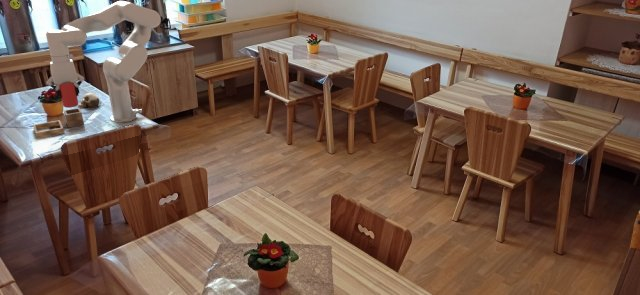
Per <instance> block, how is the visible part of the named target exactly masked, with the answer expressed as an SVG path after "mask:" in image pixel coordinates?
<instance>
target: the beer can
mask: <svg viewBox="0 0 640 295" xmlns="http://www.w3.org/2000/svg"><path fill="white" fill-rule="evenodd" d="M59 90H60V93H61V97H62V98H61V103H62V107H64V108H66V109H67V108H68V109H69V108H70V109H72V108H75V107H78V106H79V100H78V96H77V94H76V90H75V85H74V83H71V82H67V83H62V84H60V86H59Z"/></svg>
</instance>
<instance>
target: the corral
mask: <svg viewBox="0 0 640 295" xmlns="http://www.w3.org/2000/svg"><path fill="white" fill-rule="evenodd" d="M32 126H33V129H34V134H35V136H36V138H37V139H38V138H39V139H40V138H45V137H50V136H55V135H59V134H65V129H64V127H63V125H62V122H61V120H60V119H58V120H54V121H53V120H52V121H47V122H42V123H41V122H40V123H37V124H36V123H35V124H32ZM54 127H59V128H54ZM49 128H52V129H49ZM53 128H54V129H53ZM41 129H46V130H43V131H42V130H41ZM38 130H41V131H38Z"/></svg>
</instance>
